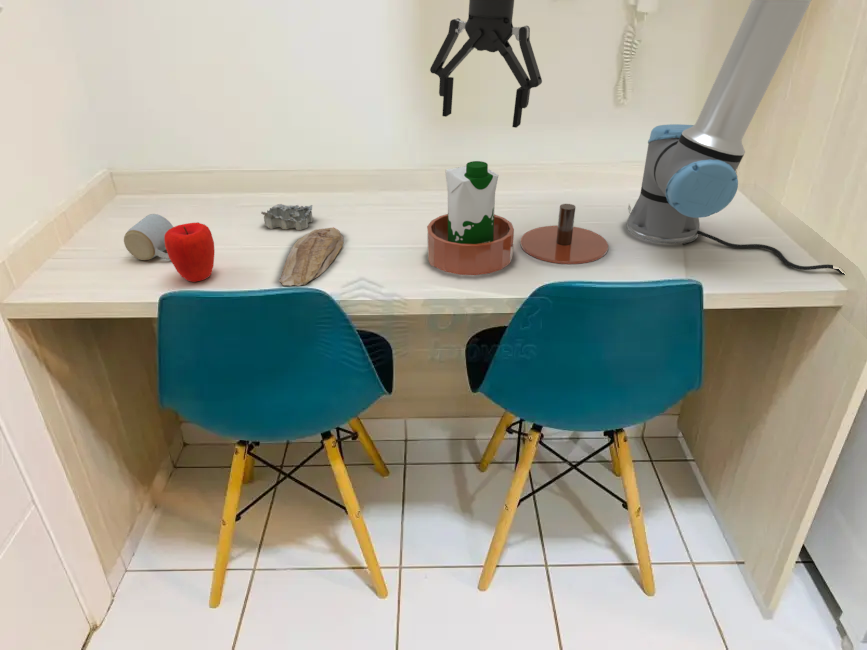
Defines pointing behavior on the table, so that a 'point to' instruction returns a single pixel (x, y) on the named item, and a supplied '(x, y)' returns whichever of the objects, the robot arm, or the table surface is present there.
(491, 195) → the milk carton
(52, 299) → the table surface
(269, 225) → the egg carton
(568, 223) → the lid
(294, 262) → the fish fossil
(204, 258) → the apple
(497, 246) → the pot
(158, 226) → the ceramic mug
